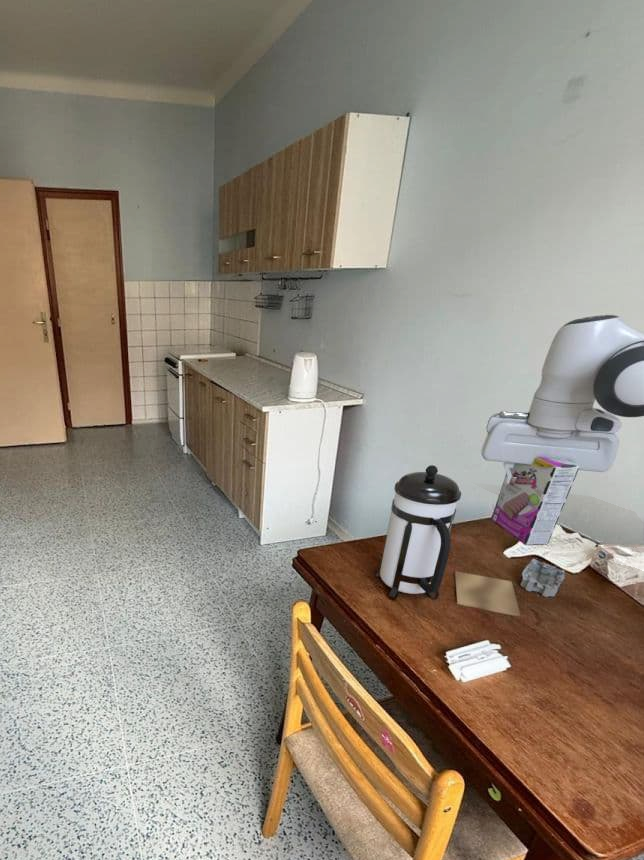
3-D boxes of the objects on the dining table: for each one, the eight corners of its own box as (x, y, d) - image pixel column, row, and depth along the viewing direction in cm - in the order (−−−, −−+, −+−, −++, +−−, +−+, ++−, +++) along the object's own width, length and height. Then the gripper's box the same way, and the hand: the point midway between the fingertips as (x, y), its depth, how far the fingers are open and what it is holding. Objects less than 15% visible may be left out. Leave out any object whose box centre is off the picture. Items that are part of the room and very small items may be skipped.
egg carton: (553, 600, 105) (559, 585, 103) (515, 587, 110) (520, 572, 108) (564, 581, 112) (570, 566, 110) (528, 569, 116) (533, 555, 114)
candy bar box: (488, 520, 100) (513, 445, 92) (510, 520, 100) (537, 445, 93) (524, 546, 90) (555, 465, 82) (549, 545, 90) (582, 464, 83)
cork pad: (511, 583, 111) (511, 581, 111) (519, 617, 100) (520, 615, 100) (454, 572, 116) (455, 571, 116) (456, 604, 105) (457, 602, 104)
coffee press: (356, 587, 111) (377, 466, 97) (391, 563, 120) (415, 449, 106) (429, 621, 100) (465, 490, 85) (461, 591, 109) (499, 468, 95)
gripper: (493, 414, 86) (473, 485, 92) (634, 424, 78) (601, 500, 85) (489, 406, 91) (471, 474, 97) (621, 415, 83) (592, 488, 90)
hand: (532, 486), depth 91 cm, fingers closed on candy bar box, 6 cm apart
